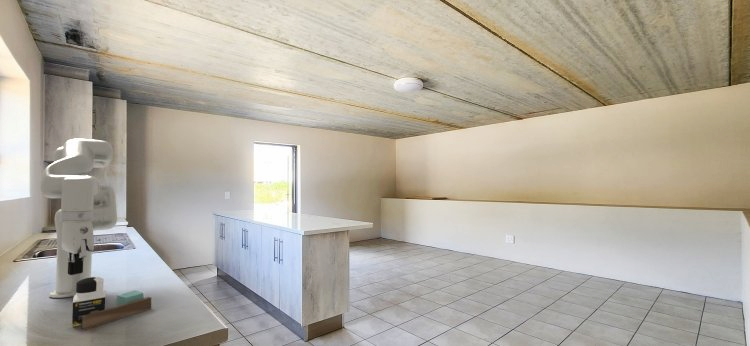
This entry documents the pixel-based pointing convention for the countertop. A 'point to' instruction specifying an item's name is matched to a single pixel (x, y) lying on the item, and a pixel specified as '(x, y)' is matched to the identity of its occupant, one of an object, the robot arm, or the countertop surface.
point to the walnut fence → (115, 313)
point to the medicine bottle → (88, 298)
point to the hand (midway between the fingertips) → (75, 273)
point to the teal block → (129, 297)
